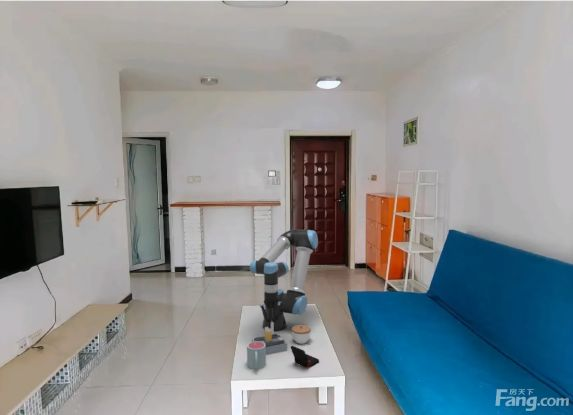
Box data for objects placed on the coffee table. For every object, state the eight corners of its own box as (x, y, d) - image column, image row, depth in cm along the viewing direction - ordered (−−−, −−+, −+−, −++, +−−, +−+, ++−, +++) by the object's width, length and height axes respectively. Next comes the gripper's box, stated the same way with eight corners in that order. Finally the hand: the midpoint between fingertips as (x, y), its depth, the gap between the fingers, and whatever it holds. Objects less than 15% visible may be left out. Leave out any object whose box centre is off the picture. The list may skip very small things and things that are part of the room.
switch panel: (278, 341, 211) (278, 333, 211) (286, 350, 200) (286, 341, 200) (252, 346, 205) (251, 338, 205) (259, 356, 194) (258, 347, 194)
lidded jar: (314, 340, 213) (314, 324, 212) (304, 347, 204) (304, 330, 203) (298, 336, 219) (298, 320, 218) (288, 342, 210) (288, 326, 209)
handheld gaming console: (319, 362, 187) (319, 343, 186) (304, 371, 178) (303, 351, 178) (305, 356, 194) (305, 337, 193) (290, 364, 185) (289, 345, 184)
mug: (247, 360, 189) (247, 341, 189) (265, 359, 190) (265, 341, 189) (246, 374, 176) (246, 354, 175) (266, 373, 176) (265, 353, 176)
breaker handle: (269, 338, 205) (269, 326, 205) (272, 342, 200) (272, 329, 200) (263, 339, 204) (263, 327, 203) (266, 343, 199) (266, 330, 199)
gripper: (262, 294, 195) (262, 338, 196) (284, 291, 200) (285, 333, 202) (257, 290, 202) (258, 332, 203) (279, 288, 207) (279, 328, 208)
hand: (271, 333), depth 202 cm, fingers closed
